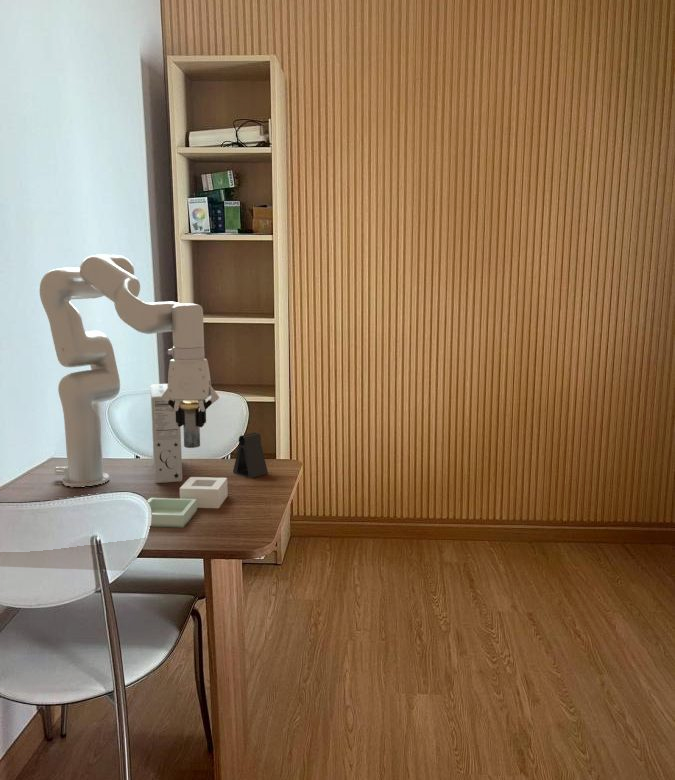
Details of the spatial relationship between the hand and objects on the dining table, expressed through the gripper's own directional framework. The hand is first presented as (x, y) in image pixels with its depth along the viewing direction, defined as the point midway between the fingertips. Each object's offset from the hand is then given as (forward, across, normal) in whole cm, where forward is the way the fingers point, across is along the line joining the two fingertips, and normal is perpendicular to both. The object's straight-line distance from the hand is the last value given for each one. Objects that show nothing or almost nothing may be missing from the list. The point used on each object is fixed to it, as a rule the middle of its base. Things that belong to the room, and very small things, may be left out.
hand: (191, 425), depth 182 cm
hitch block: (+21, +2, +4) cm, 22 cm away
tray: (+21, -4, -9) cm, 24 cm away
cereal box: (+22, -15, +30) cm, 40 cm away
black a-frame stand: (+22, +10, +30) cm, 38 cm away
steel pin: (+5, 0, 0) cm, 5 cm away
